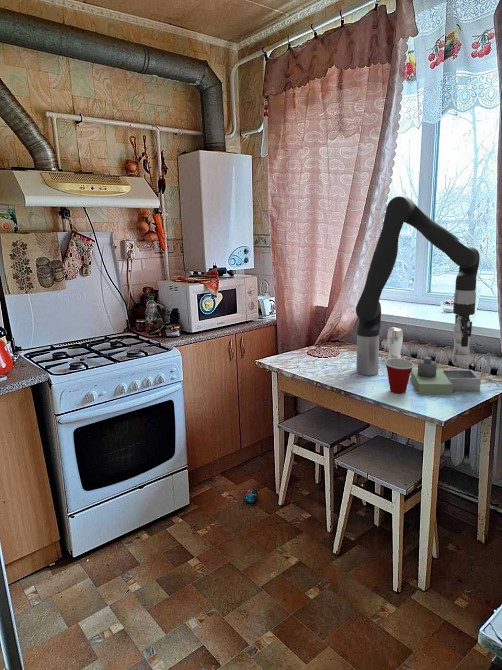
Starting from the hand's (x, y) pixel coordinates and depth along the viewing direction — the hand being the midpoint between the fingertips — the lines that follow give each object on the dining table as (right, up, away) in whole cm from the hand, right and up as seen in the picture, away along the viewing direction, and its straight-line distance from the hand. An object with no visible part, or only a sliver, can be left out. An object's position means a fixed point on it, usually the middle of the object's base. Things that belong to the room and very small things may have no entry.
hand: (461, 344), depth 178 cm
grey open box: (+1, -17, +4) cm, 17 cm away
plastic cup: (-24, -19, +2) cm, 30 cm away
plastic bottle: (0, -9, +2) cm, 9 cm away
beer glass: (-13, -8, +41) cm, 44 cm away
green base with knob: (-10, -17, +6) cm, 20 cm away
